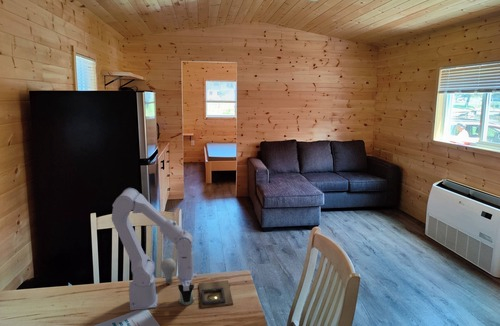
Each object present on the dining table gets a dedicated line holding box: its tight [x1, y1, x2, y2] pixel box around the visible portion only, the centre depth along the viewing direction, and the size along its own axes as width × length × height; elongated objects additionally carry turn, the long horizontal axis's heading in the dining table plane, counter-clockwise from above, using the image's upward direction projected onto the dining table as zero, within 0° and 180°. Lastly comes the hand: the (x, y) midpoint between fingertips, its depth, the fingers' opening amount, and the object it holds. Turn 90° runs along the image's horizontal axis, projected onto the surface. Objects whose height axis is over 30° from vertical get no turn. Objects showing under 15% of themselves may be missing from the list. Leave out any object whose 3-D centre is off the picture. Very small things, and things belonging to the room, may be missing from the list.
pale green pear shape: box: [178, 289, 195, 306], centre depth 136 cm, size 6×5×5 cm
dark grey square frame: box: [202, 288, 225, 305], centre depth 138 cm, size 8×8×1 cm
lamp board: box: [198, 279, 234, 309], centre depth 141 cm, size 12×16×1 cm
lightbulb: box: [160, 257, 177, 285], centre depth 148 cm, size 6×6×11 cm
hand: (186, 297), depth 136 cm, fingers closed on pale green pear shape, 5 cm apart
